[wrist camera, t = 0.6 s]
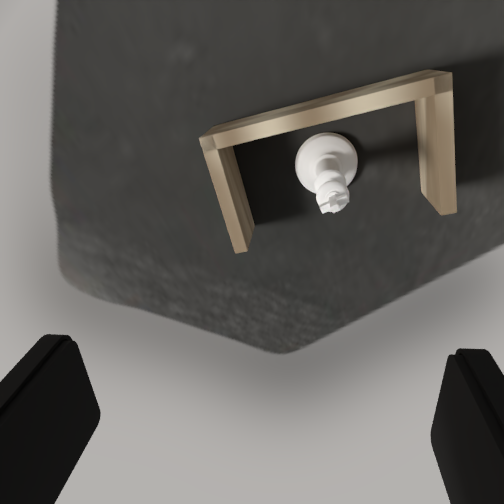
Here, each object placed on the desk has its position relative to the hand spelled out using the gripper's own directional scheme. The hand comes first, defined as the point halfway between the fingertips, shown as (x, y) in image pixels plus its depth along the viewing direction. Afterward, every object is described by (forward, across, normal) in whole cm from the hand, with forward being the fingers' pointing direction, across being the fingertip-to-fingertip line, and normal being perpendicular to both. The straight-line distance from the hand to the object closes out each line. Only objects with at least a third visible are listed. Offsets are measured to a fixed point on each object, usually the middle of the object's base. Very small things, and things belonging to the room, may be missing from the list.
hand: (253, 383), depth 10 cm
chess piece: (+24, -3, +1) cm, 24 cm away
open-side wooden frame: (+24, -3, +1) cm, 24 cm away
